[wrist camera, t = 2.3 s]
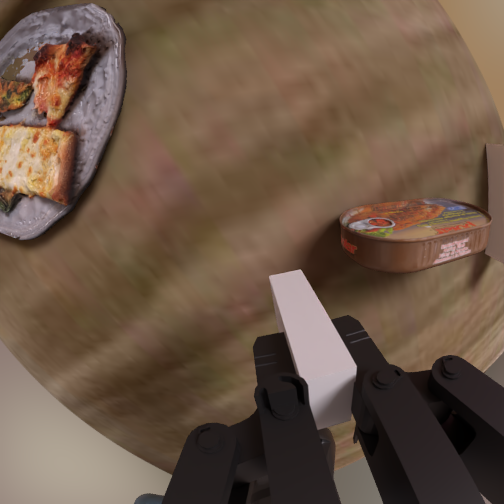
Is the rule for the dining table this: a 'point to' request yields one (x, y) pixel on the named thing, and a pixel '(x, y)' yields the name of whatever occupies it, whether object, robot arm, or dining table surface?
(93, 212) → the dining table surface
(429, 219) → the tin
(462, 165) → the dining table surface
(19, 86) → the food plate
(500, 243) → the board
